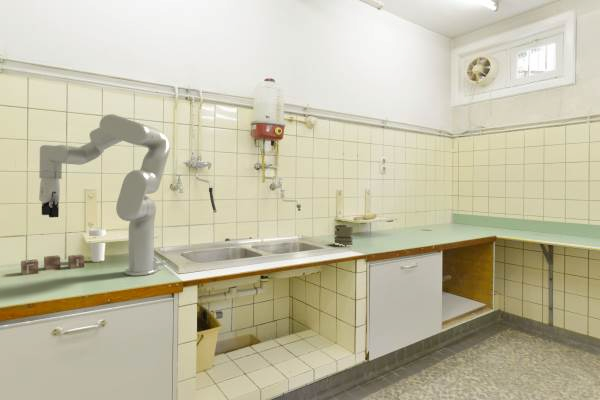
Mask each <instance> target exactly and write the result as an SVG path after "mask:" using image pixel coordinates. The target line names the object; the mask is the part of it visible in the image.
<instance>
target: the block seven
mask: <svg viewBox="0 0 600 400" xmlns="http://www.w3.org/2000/svg"><path fill="white" fill-rule="evenodd" d="M20 268H21V269H20V273H21V275H22V276H30V275H37V274H39V261H38V259H28V260H21V261H20Z"/></svg>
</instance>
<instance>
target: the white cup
mask: <svg viewBox="0 0 600 400" xmlns="http://www.w3.org/2000/svg"><path fill="white" fill-rule="evenodd" d="M106 229H107V228H91V229H89V230H88V237H89V236H104V235H106V236H107V232H106V231H107V230H106ZM89 248H90V260H91V262H92V263H101V262H104V261H105V254H106V253H105V251H106V243H90V242H89ZM100 261H101V262H100Z"/></svg>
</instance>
